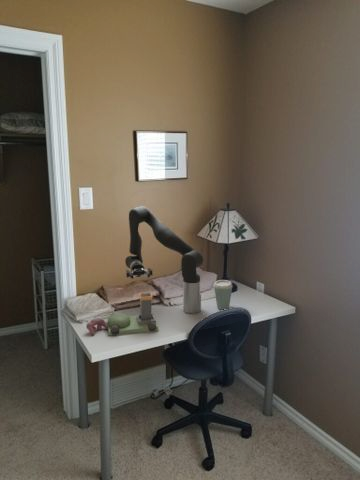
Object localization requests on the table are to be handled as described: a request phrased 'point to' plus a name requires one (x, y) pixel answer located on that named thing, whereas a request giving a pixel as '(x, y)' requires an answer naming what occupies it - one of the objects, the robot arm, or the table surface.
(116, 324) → the toy lawn mower
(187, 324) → the table surface
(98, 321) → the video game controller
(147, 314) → the orange-capped grey post
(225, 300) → the disposable coffee cup
